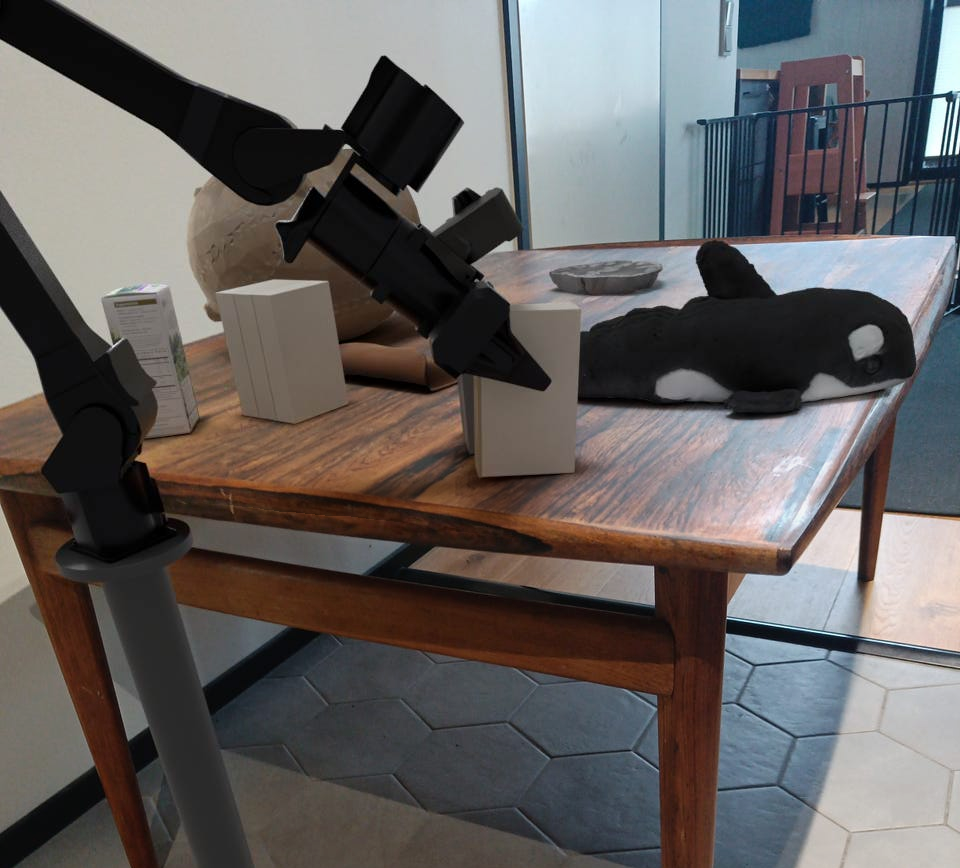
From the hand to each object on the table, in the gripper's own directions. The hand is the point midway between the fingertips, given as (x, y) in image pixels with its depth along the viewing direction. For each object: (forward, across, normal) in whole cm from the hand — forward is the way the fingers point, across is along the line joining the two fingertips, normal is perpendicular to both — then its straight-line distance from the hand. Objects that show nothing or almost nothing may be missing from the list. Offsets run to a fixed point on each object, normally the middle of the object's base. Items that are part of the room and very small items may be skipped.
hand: (541, 378), depth 71 cm
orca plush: (+20, +20, -8) cm, 29 cm away
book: (+4, 0, +7) cm, 8 cm away
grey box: (+4, +10, +7) cm, 12 cm away
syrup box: (-22, +28, +31) cm, 47 cm away
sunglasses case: (-3, +39, +14) cm, 41 cm away
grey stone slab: (+25, +87, -13) cm, 92 cm away
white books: (-12, +30, +21) cm, 39 cm away
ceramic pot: (-11, +71, +20) cm, 75 cm away
